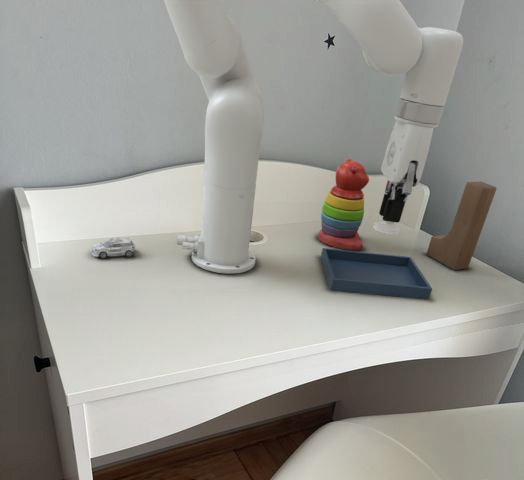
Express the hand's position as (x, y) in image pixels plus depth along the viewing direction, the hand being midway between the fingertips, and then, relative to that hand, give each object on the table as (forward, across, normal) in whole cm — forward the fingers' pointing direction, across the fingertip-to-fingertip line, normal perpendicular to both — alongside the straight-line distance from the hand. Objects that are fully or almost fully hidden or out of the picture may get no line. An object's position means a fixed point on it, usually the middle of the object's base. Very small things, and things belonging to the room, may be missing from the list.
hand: (389, 217), depth 97 cm
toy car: (+14, +1, -51) cm, 53 cm away
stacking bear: (+13, -19, -4) cm, 23 cm away
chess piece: (+3, 0, 0) cm, 3 cm away
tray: (+12, 0, 0) cm, 12 cm away
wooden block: (+12, -13, +20) cm, 27 cm away
